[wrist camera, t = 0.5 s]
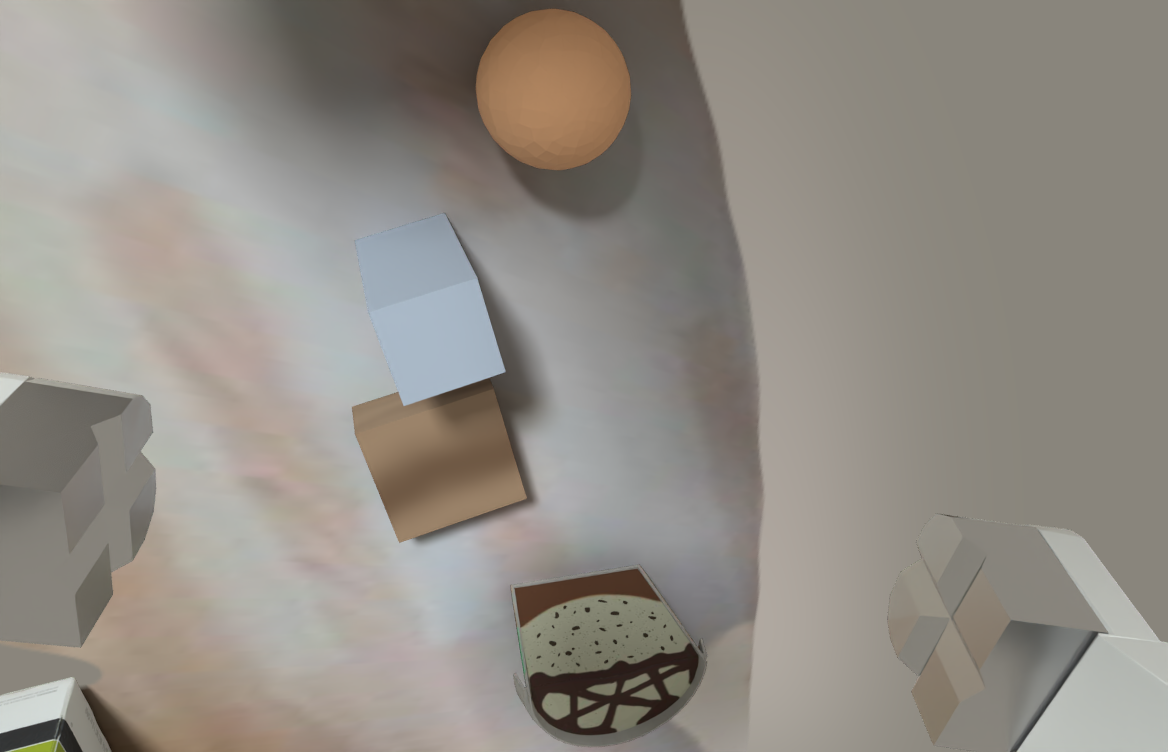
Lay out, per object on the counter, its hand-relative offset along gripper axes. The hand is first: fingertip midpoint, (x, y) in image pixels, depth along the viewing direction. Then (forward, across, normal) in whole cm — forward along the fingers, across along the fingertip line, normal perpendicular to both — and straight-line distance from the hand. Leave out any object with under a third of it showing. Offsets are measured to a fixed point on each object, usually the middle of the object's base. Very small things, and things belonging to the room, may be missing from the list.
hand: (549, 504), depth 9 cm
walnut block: (+38, +3, +27) cm, 46 cm away
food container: (+39, -8, +40) cm, 57 cm away
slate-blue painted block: (+38, +5, +16) cm, 42 cm away
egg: (+41, 0, +5) cm, 41 cm away
